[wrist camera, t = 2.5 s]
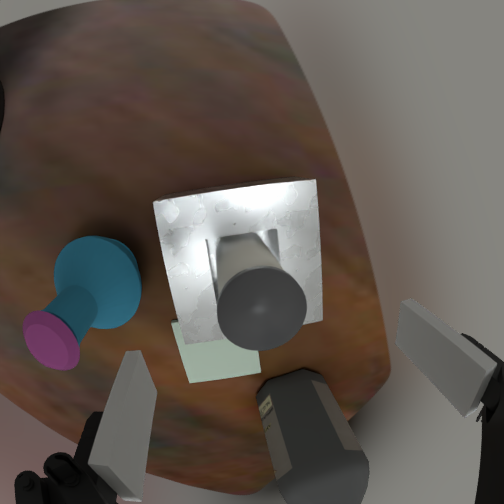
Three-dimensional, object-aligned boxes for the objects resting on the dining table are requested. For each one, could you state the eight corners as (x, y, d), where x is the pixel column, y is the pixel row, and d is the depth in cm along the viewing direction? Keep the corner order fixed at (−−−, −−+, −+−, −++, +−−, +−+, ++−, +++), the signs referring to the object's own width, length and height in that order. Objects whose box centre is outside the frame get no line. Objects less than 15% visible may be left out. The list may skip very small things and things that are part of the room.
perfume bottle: (151, 229, 28) (100, 289, 14) (150, 311, 30) (119, 410, 16) (71, 223, 26) (-18, 271, 12) (76, 302, 29) (15, 384, 14)
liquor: (318, 361, 36) (428, 561, 7) (325, 402, 38) (408, 569, 10) (251, 382, 35) (311, 607, 6) (267, 422, 38) (320, 601, 9)
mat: (171, 320, 31) (171, 323, 30) (251, 308, 32) (252, 310, 31) (189, 380, 34) (189, 382, 33) (260, 369, 34) (260, 372, 34)
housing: (164, 194, 27) (152, 201, 21) (294, 176, 28) (315, 179, 23) (188, 314, 31) (185, 344, 25) (303, 294, 32) (322, 320, 27)
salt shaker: (209, 231, 27) (209, 278, 15) (264, 223, 27) (304, 263, 16) (217, 283, 28) (225, 357, 17) (270, 274, 29) (308, 341, 17)
